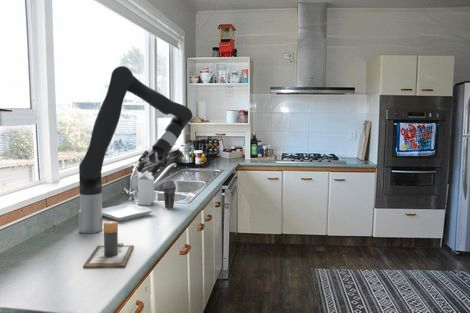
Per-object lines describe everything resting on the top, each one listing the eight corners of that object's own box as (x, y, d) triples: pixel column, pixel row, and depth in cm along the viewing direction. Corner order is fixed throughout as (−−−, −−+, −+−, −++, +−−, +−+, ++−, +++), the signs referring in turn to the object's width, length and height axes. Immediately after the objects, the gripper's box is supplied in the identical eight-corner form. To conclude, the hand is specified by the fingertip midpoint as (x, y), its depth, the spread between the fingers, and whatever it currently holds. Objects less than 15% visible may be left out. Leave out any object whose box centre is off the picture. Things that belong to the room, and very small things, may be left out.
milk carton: (153, 202, 227) (154, 170, 225) (150, 205, 220) (150, 172, 218) (142, 202, 228) (142, 170, 225) (138, 204, 221) (138, 172, 218)
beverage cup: (159, 208, 214) (160, 173, 212) (168, 205, 220) (168, 171, 218) (170, 210, 211) (170, 174, 208) (178, 207, 217) (178, 172, 215)
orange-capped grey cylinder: (102, 257, 140) (102, 225, 138) (105, 252, 145) (105, 221, 143) (116, 256, 140) (116, 225, 139) (119, 251, 145) (118, 221, 144)
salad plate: (129, 208, 213) (128, 202, 213) (153, 215, 200) (153, 209, 200) (94, 216, 197) (94, 209, 196) (118, 224, 184) (118, 217, 183)
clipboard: (83, 268, 132) (82, 263, 132) (97, 247, 152) (97, 243, 152) (124, 267, 133) (124, 262, 133) (133, 247, 153) (133, 242, 153)
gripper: (148, 136, 171) (128, 164, 162) (172, 138, 163) (152, 168, 155) (157, 147, 176) (138, 175, 167) (180, 150, 168) (161, 179, 160)
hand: (145, 172), depth 161 cm, fingers open, 8 cm apart
